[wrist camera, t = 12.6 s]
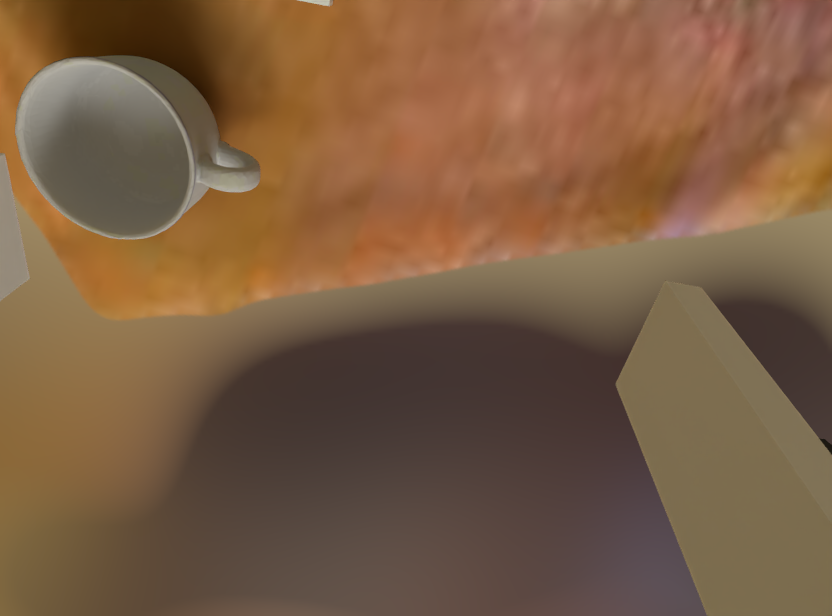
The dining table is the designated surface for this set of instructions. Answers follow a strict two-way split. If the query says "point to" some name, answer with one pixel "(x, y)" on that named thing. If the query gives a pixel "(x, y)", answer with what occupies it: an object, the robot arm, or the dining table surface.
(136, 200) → the teacup
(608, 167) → the dining table surface
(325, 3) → the dock
